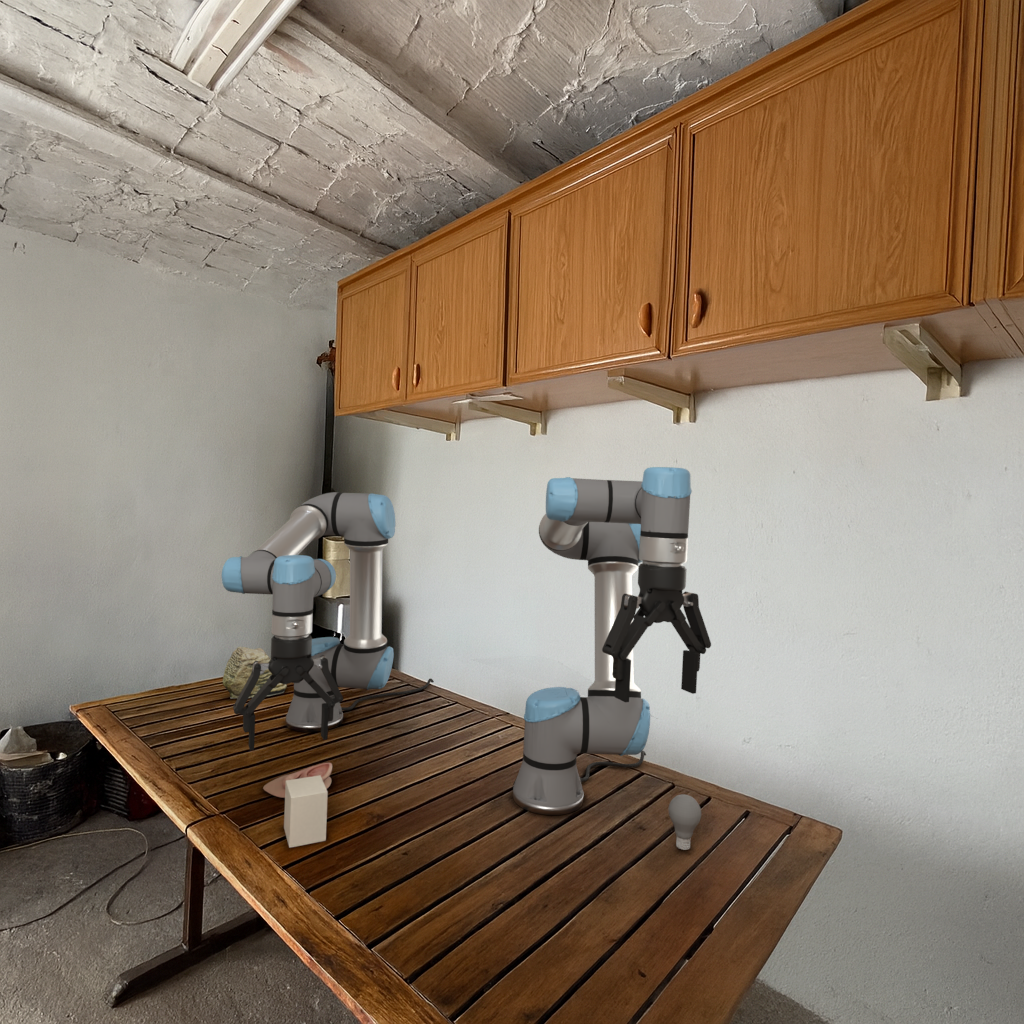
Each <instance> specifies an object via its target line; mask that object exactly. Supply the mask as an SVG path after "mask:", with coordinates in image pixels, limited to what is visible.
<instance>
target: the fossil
mask: <svg viewBox="0 0 1024 1024" xmlns="http://www.w3.org/2000/svg"><path fill="white" fill-rule="evenodd" d="M270 659H271V657H270V656H269V655H268V654H267V653H266V652H265V650H264V649H263V648H260V647H258V648H251V647H247V646H246V647H245V646H238V647H237V648H236V649H235V650H233V651H232V653H231V656H230V657H229V659H228V660H227V663H226V666H225V668H224V671H223V675H222V676H223V677H222V685H223V687H224V688H225V690H226V691H228V693H229V698H230V699H238V697H239V695H240V693H241V691H242V689H243V688H244V686H245V684H246V682H247V680H248V678H249V677H250V675H251V673H252V667H253V663H254V662H255V661H259V663H269V661H270ZM271 675H272V673H271V672H270V671H269V669H266V670H265V671H264V673H263V674H261V675H260V676H259V679H258V681H257V683H256V685H255V687H254V688H253V690H252V692H251V694H250V696H249V698H248V699H252V698H253V697H254V695H255V694H256V693H257V692H258V691H259V690H260V688H261V687H262V686H263V685H264V684H265V683H266V681H267V680H268V678H269V677H270V676H271ZM287 685H288V684H282V683H278V685H277V686H276V687H275V688H273V689H272V690H271V692H270V693H269V694H268V695H267V696H266V697H271V696H275V695H281V694H284V693H285V691H286V689H287V687H288V686H287Z"/></svg>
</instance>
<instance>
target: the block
mask: <svg viewBox="0 0 1024 1024" xmlns="http://www.w3.org/2000/svg"><path fill="white" fill-rule="evenodd" d="M328 797H329V791H328V788H327V789H326V787H325V785H324V782H323V780H322V778H321V776H320V775H319V776H313V777H306V778H299V779H293V780H286V786H285V798H284V816H283V817H284V818H283V829H284V833H285V838H286V840H287V845H288V848H290V849H291V848H296V847H300V846H306V845H310V844H311V845H312V844H316V843H322V842H326V841H327V820H328Z"/></svg>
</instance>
